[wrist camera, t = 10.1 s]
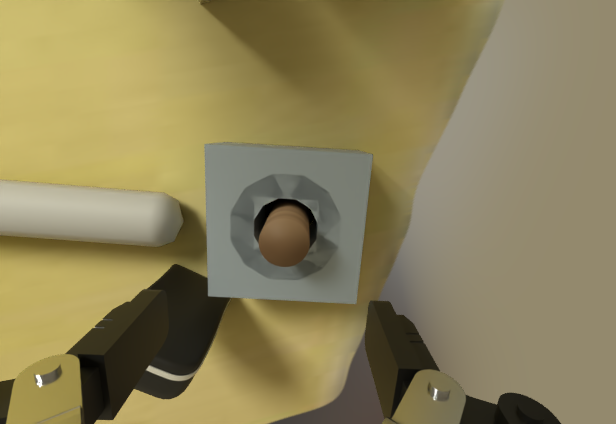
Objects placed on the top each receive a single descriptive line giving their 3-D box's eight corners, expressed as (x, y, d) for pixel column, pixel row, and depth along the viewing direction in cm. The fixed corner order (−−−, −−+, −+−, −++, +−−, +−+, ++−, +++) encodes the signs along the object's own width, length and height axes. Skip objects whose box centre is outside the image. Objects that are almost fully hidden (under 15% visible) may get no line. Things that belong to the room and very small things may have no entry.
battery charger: (159, 290, 31) (75, 377, 20) (173, 260, 30) (95, 333, 19) (221, 319, 32) (175, 418, 21) (236, 290, 31) (197, 377, 20)
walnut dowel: (273, 191, 28) (259, 217, 20) (309, 194, 28) (311, 220, 20) (272, 226, 29) (258, 265, 20) (307, 228, 29) (308, 268, 20)
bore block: (226, 142, 27) (204, 144, 21) (358, 150, 27) (373, 154, 22) (227, 265, 30) (208, 296, 24) (346, 271, 30) (356, 304, 24)
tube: (172, 187, 24) (-152, 160, 24) (164, 253, 24) (-165, 229, 23) (194, 195, 30) (-69, 174, 29) (188, 249, 29) (-79, 229, 28)
